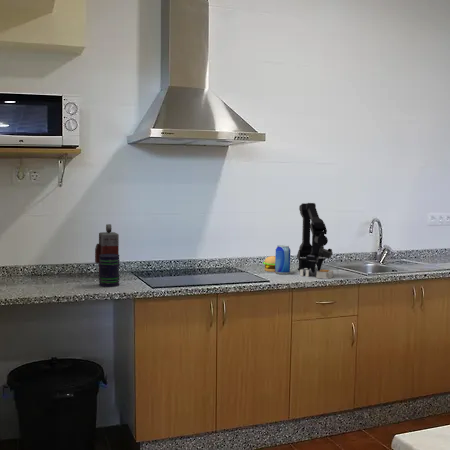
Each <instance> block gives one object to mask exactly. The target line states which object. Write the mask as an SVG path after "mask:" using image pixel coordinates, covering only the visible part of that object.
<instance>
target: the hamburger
mask: <svg viewBox="0 0 450 450" xmlns="http://www.w3.org/2000/svg"><path fill="white" fill-rule="evenodd" d="M262 265H264V269H263V270H265V271H266V272H271V273H272V272H273V273H276V272H275V255H270V256H268V257H266V258H265V259H264V261H263V263H262Z"/></svg>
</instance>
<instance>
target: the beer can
mask: <svg viewBox="0 0 450 450" xmlns="http://www.w3.org/2000/svg"><path fill="white" fill-rule="evenodd" d="M274 256H275V272H274V273H275V274H277V275H289V274H290V272H291V248H290V245H286V244H282V245H281V244H279V245H277V247H276V249H275V254H274Z"/></svg>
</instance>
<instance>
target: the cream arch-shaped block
mask: <svg viewBox="0 0 450 450" xmlns="http://www.w3.org/2000/svg"><path fill="white" fill-rule="evenodd" d="M328 270H329V272H320V271H317V275H316V276H315V278H316V279H327V280H329V279H331V278H334V270H331V269H328Z"/></svg>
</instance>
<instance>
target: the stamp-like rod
mask: <svg viewBox="0 0 450 450" xmlns="http://www.w3.org/2000/svg"><path fill="white" fill-rule="evenodd" d="M301 270H304V272H303V276H306V270H309V277H316V275H317V271H320V272H329V270H330V269H323V268H321V269H320V270H318V269H315V272H314V273H312V271H311V269H301Z"/></svg>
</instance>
